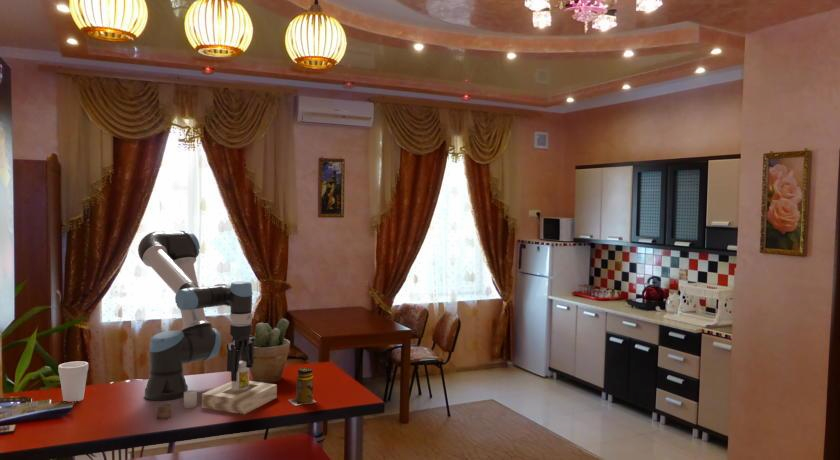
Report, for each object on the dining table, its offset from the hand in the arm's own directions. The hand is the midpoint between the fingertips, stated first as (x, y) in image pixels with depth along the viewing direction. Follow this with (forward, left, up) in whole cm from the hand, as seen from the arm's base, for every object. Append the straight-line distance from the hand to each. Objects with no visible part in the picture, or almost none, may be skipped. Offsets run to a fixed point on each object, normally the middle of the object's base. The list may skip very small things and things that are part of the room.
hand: (240, 387), depth 222 cm
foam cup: (-57, -21, -6) cm, 61 cm away
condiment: (+20, +10, -6) cm, 23 cm away
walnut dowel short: (-14, -23, -6) cm, 28 cm away
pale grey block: (-14, -10, -6) cm, 18 cm away
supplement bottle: (0, 0, -1) cm, 1 cm away
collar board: (0, 0, -6) cm, 6 cm away
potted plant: (-8, +29, -6) cm, 31 cm away
